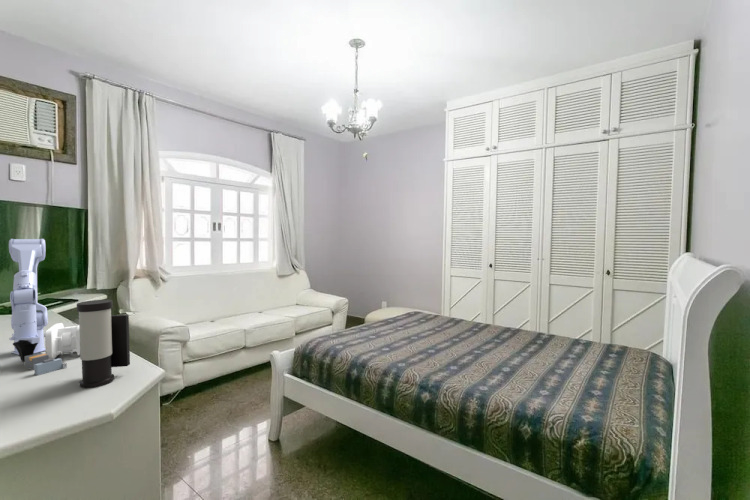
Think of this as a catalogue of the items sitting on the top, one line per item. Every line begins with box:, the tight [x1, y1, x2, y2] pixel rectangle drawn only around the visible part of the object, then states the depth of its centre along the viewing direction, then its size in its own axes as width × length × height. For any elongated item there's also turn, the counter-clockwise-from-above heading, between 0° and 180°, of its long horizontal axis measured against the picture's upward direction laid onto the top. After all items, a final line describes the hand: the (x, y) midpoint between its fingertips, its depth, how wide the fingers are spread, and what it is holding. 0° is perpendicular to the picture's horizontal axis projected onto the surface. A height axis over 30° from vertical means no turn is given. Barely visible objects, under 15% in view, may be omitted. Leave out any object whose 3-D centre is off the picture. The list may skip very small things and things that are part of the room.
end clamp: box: [33, 357, 63, 376], centre depth 115 cm, size 2×6×4 cm, turn 155°
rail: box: [62, 361, 68, 369], centre depth 121 cm, size 18×1×2 cm, turn 65°
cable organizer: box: [44, 322, 80, 359], centre depth 131 cm, size 15×11×12 cm
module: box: [24, 352, 49, 371], centre depth 119 cm, size 6×4×4 cm
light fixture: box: [76, 299, 131, 389], centre depth 106 cm, size 12×11×25 cm
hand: (26, 361), depth 122 cm, fingers closed
